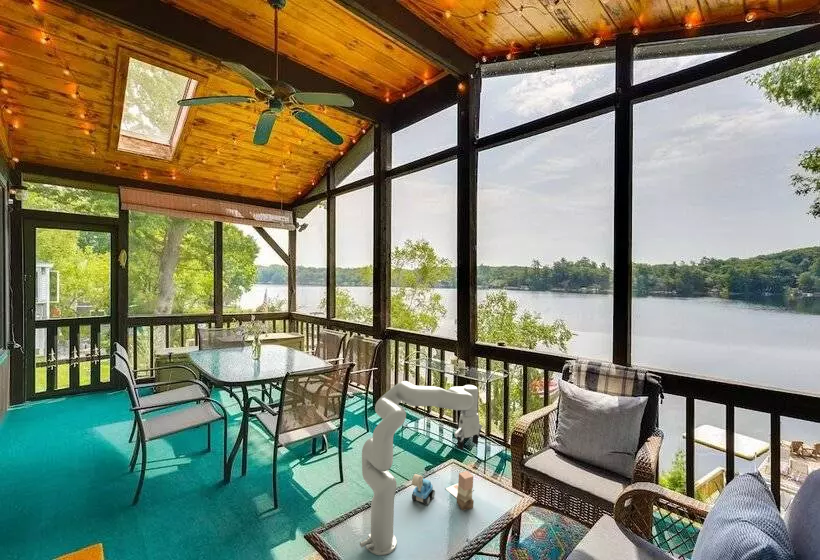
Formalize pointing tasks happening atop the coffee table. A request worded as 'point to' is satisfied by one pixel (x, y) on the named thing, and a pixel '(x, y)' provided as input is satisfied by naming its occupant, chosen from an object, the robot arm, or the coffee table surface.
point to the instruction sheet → (453, 490)
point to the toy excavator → (422, 489)
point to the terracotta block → (465, 480)
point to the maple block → (464, 494)
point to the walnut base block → (465, 504)
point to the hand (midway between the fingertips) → (467, 445)
